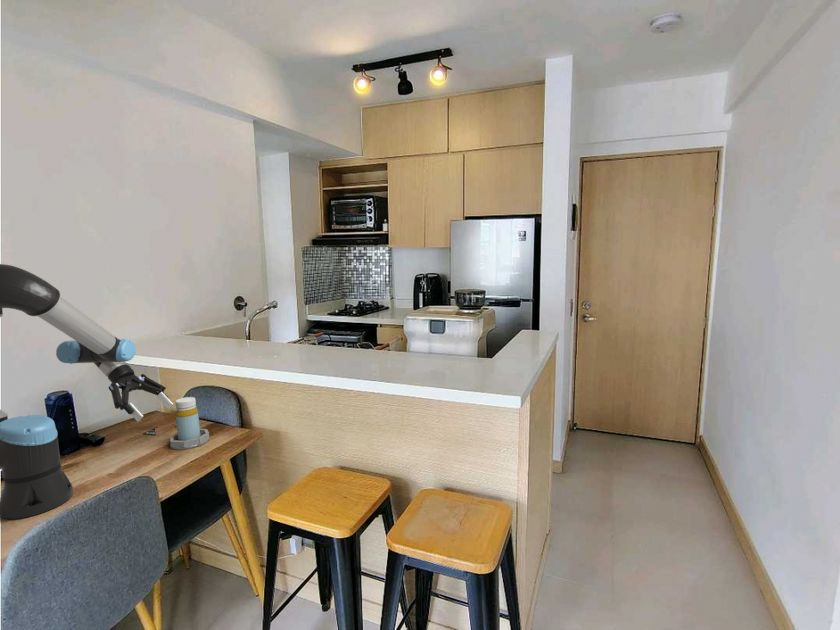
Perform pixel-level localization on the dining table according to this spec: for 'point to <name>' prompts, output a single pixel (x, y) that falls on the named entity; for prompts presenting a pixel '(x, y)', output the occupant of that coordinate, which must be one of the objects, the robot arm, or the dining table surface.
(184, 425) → the bottle
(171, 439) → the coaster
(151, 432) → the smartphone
